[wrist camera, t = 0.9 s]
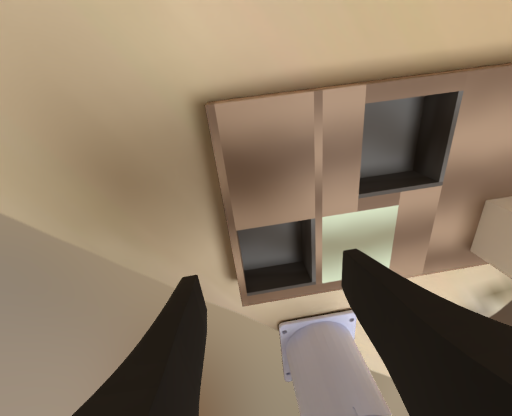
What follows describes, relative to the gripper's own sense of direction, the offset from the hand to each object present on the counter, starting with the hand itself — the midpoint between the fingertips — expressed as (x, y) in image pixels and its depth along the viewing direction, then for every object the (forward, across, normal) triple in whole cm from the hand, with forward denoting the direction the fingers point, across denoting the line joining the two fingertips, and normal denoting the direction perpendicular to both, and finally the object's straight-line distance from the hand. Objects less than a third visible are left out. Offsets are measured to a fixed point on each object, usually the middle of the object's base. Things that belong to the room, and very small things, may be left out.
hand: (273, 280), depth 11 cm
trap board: (+9, -10, 0) cm, 14 cm away
